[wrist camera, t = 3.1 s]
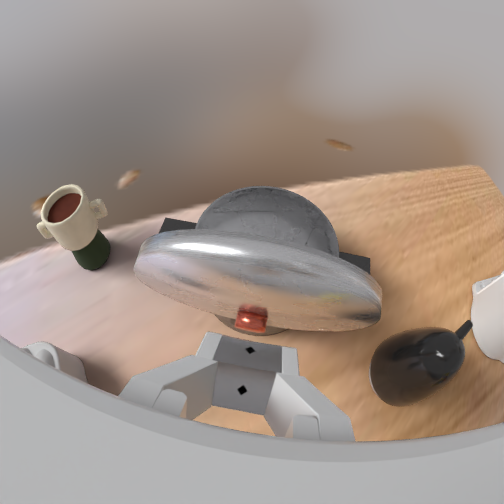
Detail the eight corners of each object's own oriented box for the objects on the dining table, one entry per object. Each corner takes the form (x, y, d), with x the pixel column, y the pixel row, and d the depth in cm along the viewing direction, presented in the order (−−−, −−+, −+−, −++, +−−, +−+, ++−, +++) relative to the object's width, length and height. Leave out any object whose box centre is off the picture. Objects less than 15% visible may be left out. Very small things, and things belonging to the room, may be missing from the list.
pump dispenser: (427, 376, 35) (497, 349, 22) (384, 422, 31) (454, 417, 18) (393, 327, 39) (453, 284, 26) (345, 369, 35) (403, 342, 23)
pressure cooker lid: (336, 323, 27) (332, 349, 26) (171, 290, 28) (165, 315, 27) (436, 272, 12) (436, 327, 11) (98, 205, 12) (78, 255, 11)
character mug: (121, 227, 45) (96, 172, 34) (128, 262, 42) (98, 209, 31) (66, 247, 42) (32, 199, 31) (69, 283, 39) (27, 238, 28)
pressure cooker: (338, 362, 36) (373, 342, 27) (154, 325, 37) (129, 293, 28) (345, 251, 45) (370, 208, 36) (191, 220, 47) (183, 171, 37)
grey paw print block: (102, 414, 30) (70, 412, 22) (38, 434, 26) (2, 433, 18) (77, 347, 34) (46, 329, 27) (19, 372, 30) (-16, 359, 23)
